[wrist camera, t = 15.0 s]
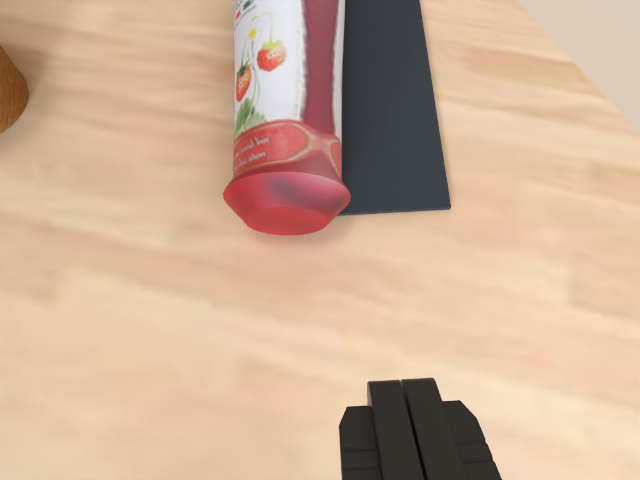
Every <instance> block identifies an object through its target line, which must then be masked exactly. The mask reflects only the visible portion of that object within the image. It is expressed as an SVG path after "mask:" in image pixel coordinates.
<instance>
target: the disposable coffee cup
mask: <svg viewBox="0 0 640 480" xmlns="http://www.w3.org/2000/svg"><path fill="white" fill-rule="evenodd" d="M27 98H28V88H27V84H26V81H25V80H24V78H23V76H22V75H21V74H20V72H19V71H18V69H17V68H16V67H15V65H14V64H13V62H12V61H11V60H10V58H9V57H8V55H7V54H6V53H5V51H4V50H3V48H2V47H1V46H0V133H1V132H3V131H4V130H6V129H7V128H9V127H10V126H11V125H12V124H13V123H14V122H15V121H16V120H17V119H18V117H19V116H20V115H21V113H22V112H23V110H24V108H25V106H26V102H27Z"/></svg>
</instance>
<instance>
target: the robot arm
mask: <svg viewBox="0 0 640 480" xmlns="http://www.w3.org/2000/svg"><path fill="white" fill-rule="evenodd" d="M367 398H368V406H353V407H347V408H346V411H345V413H344V415H343V418H342V420H341V422H340V425H339V434H340V453H341V472H342V480H502V479H501V476H500V474H499V472H498V469H497V467H496V464H495V462H494V461H493V458H492V454H491V452H490V450H489V447H488V445H487V443H486V442H485V437H484V435H483V432H482V430H481V428H480V425H479V423H478V420H477V418H476V417H475V416H474V415H473V414H472V413H471V412H470V411H469V409H468V408H467V407H466V406H465V405H464V404H463V403H462V402H461V401H460V400H458V401H442V399H441V396H440V393H439V390H438V387H437V384H436V382H435V380H434V378H420V379H402V380H401V382H400V380H387V381H369V382H368V383H367Z"/></svg>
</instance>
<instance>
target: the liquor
mask: <svg viewBox="0 0 640 480" xmlns="http://www.w3.org/2000/svg"><path fill="white" fill-rule="evenodd" d="M344 19H345V0H234V47H235V120H234V162H233V179H232V180H231V182H230V183H229V185H228V186H227V187H226V189H225V191H224V193H223V196H224V200H225V202H226V203H227V204H228V205H229V206H230V207H231V209H232V210H233V211H234V212H235V213H236V214H237V215H238V216H239V217H240V218H241V219H242V220H243V221H244V222H245V223H246V224H247V225H248V226H249V227H250V228H252V229H254V230H257V231H260V232H263V233H268V234H275V235H301V234H308V233H312V232H316V231H318V230H321V229H323V228H324V227H325V226H326V225H328V224H329V223H330V222H331V221H332V220H333V219H334V218H335V217H336V216H337V215H338V214H339V213H340V212H341V211H342V210H343V209H344V208H345V207H346V206H347V205H348V204H349V202H350V199H351V195H350V193H349V191H348V189H347V187H346V186H345V184H344V183H343V181H342V62H343V40H344Z"/></svg>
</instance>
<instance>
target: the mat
mask: <svg viewBox="0 0 640 480" xmlns="http://www.w3.org/2000/svg"><path fill="white" fill-rule="evenodd" d="M342 181H343V183H344V184H345V186H346V187H347V189H348V191H349V193H350V195H351V199H350V202H349V204H348V205H347V206H346V207H345V208H344V209H343V210H342V211H341V212H340V213H339V214H338V215H356V214H374V213H391V212H409V211H427V210H444V209H450V208H451V205H450V198H449V192H448V185H447V179H446V172H445V166H444V159H443V152H442V146H441V139H440V133H439V126H438V120H437V113H436V107H435V100H434V94H433V87H432V80H431V74H430V67H429V61H428V54H427V48H426V41H425V35H424V28H423V22H422V15H421V8H420V2H419V0H345V19H344V40H343V62H342ZM338 215H337V216H338Z"/></svg>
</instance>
